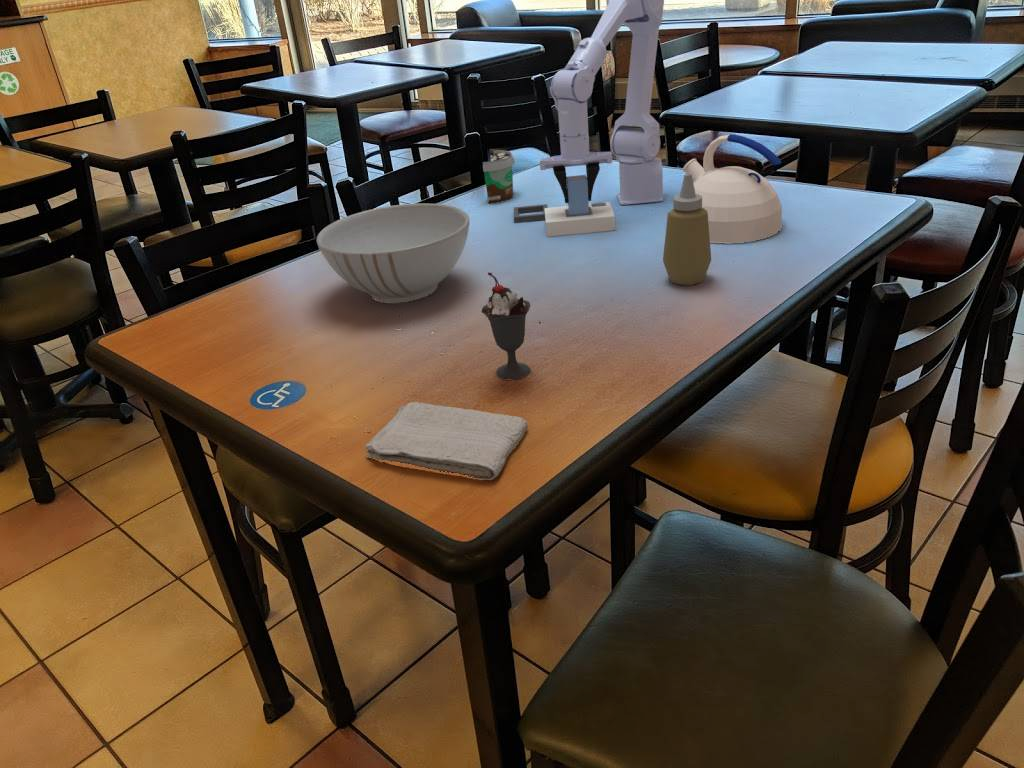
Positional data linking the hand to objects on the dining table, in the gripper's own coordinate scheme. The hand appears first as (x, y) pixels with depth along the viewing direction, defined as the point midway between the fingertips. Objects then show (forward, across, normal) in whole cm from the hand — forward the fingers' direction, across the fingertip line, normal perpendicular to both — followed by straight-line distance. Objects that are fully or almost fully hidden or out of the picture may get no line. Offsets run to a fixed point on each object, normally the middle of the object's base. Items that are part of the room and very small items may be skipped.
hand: (577, 200), depth 162 cm
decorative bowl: (+6, -34, -27) cm, 44 cm away
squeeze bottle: (+6, +16, -34) cm, 38 cm away
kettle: (+6, +29, -9) cm, 31 cm away
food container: (+6, -16, +27) cm, 32 cm away
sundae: (+6, -14, -62) cm, 64 cm away
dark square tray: (+5, -10, +10) cm, 15 cm away
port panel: (+5, 0, 0) cm, 5 cm away
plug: (+2, 0, 0) cm, 2 cm away
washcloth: (+6, -22, -79) cm, 83 cm away
